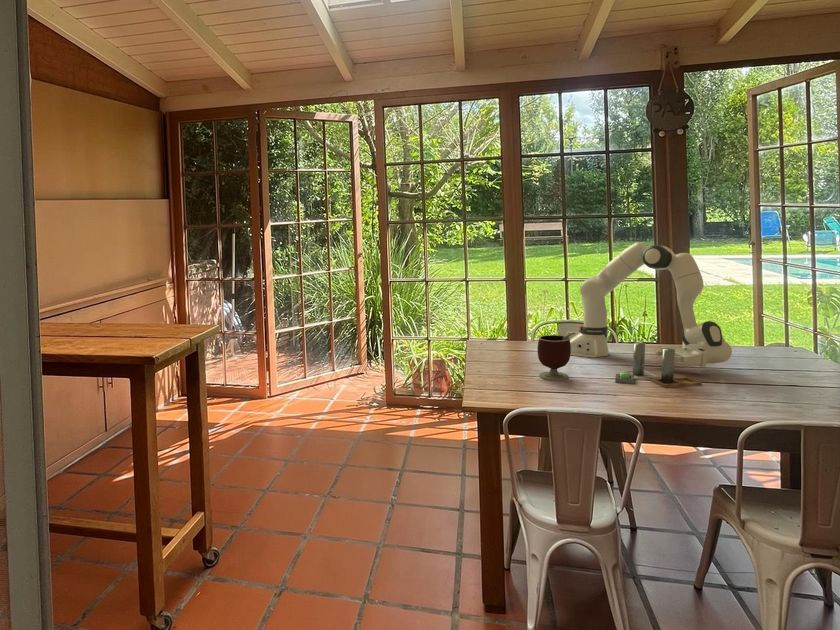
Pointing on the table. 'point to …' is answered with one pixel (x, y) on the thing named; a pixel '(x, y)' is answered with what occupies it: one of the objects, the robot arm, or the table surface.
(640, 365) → the cylinder
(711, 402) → the table surface
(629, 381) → the switch box
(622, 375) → the button
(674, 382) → the tray
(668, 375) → the cylinder
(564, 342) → the mate gourd
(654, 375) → the square tray
